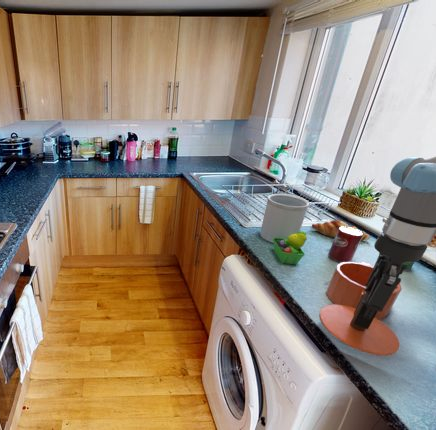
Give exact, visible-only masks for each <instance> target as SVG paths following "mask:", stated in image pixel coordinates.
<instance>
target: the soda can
mask: <svg viewBox="0 0 436 430" xmlns="http://www.w3.org/2000/svg"><path fill="white" fill-rule="evenodd" d="M357 229H358V228H357ZM357 229H354V228H350V227H340V228H339V229H338V231H337V233H336V236H335V238H334V237H333V241H332V243H331V245H330V249H329V251H328V254H327V255H328V257H329V258H330V259H331V260H332V261H334V262H336V263H338V264H340V263H342V262H353V259H354V257H355V255H356V253H357V250H358V248H359V246H360V244H361V241H362V240H361V239H362V237H363V234H362V232H360V231H361V230H360V229H359V230H360V231H359V230H357Z"/></svg>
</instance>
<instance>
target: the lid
mask: <svg viewBox="0 0 436 430" xmlns="http://www.w3.org/2000/svg"><path fill="white" fill-rule="evenodd" d="M370 292H371V291H366V292H365V294H364V296H363V298H362V300H364V301H366V300H367V298H368V296H369V294H370ZM362 300H361V301H362ZM362 305H363V304H361V302H360V304H359V306H358V308H357V310H356V308H353V307H349V306H344V305H336V304H328V305H325V306H323V307H322V308H321V309H320V311H319V320H320V322H321V324H322V326H323V327H324V329H325V330H327V332H328V333H330V334H331V335H332V336H333V337H334V338H336V339H337V340H338V341H340V342H341V343H343V344H345V345H347V346H349V347H351V348H353V349H356V350H357V351H361V352H363V353H366V354H369V355H373V356H381V357H387V356H392V355H394V354H396V353H397V352H398V351H399V350H400V347H401V345H400V340H399V338H398V335H396V333H395V332H394V331H393V330H392V329H391V328H390V327H389V326H388V325H387V324H386V323H384V322H383V321H381V319H377V318H375V317H374V319H373V321H372V323H371V325H370V326H369V328H368V329H366V328H363V327H360V326H358V325H355V324H354V320H355V318H356V316H357V314H358V313H359V311H360V309H361V307H362ZM355 310H356V312H355ZM354 312H355V314H354Z"/></svg>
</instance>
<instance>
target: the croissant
mask: <svg viewBox="0 0 436 430" xmlns="http://www.w3.org/2000/svg"><path fill="white" fill-rule="evenodd" d="M340 227H350V228H354V229H357V230H359V231H360V232H362V234H363V237H362V239H361V241H369V240H370V239H371V238H372V237H371V236H370V235H368V234H367V233H366V232H365V231H364V230H360V229H358V228H357V227H356V226H355V225H348V224H347V223H346V222H345V221H342V220H336V219H335V220H334V219H333V220H331V221H325V222H323V223H320V222H317V223H312V224H311V228H312V229H313V230H315V231H317V232H318V233H320V234H322V235H324V236H327V237H331V238H333V239H334V238H335V236H336V233H337V231H338V229H339V228H340Z"/></svg>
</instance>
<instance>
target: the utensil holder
mask: <svg viewBox="0 0 436 430" xmlns="http://www.w3.org/2000/svg"><path fill="white" fill-rule="evenodd" d="M266 200H267V202H266V206H265V210H264V215H263V218H262V223H261V228H260V234H259V235H260V237H261V238H262V239H264V240H265V241H267V242H269V243H272V244H274V241H273V238H283V239H288V237H289V235H291V234H296V233H297V232H299V231H301V229H302V226H303V223H304V220H305V217H306V213H307V210H308V208H309V206H310V202H309V200H307V199H305V198H303V197H300V196H298V195H293V194H288V193H272V194H269V195H267V199H266Z"/></svg>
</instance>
